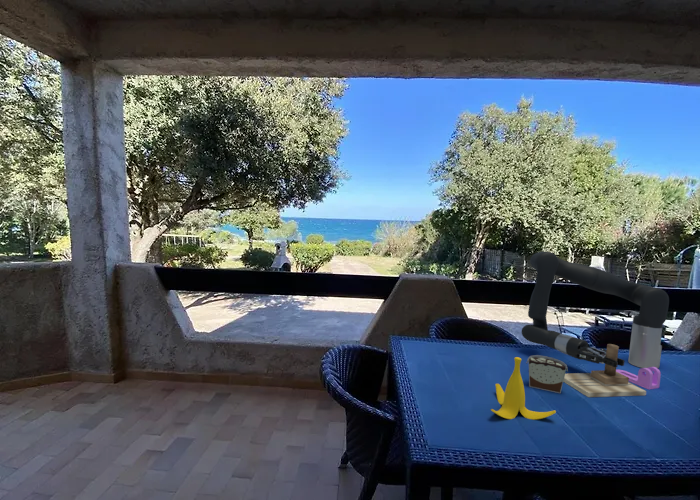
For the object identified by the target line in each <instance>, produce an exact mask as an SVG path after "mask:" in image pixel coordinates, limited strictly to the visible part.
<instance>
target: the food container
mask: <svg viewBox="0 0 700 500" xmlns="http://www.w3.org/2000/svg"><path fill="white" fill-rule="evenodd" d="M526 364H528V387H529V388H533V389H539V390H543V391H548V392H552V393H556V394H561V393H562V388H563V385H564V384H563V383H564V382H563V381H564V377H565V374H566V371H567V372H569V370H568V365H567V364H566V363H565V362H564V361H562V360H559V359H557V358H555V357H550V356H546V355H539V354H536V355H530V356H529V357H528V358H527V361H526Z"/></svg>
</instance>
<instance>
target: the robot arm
mask: <svg viewBox="0 0 700 500" xmlns="http://www.w3.org/2000/svg"><path fill="white" fill-rule="evenodd" d="M529 261H530V265H531V267H532V268H533V270H535V271H536V280H535V281H536V282H535V285H534V289H533V291H532V293H531V295H530V299H529V304H528V305H529V306H528V313H527V316H528V317H529V319H532V323H533V324H526V325H524V326H523V327H522V328H521V335H522V337H523V338H524V339H525V340H526V341H529V342H531V343H533V344H534V343H535V344H537V345H543V346H546V347H549V348H550V349H553V350H556V351H558V352H560V353H562V354H564V355H567V356H570V357H572V358H575V359H577V360H581V361H582V360H583V361H586V362H590V363H595V364H603V365H605V364H607V365H610V366H613V367H616V368H618V367H619V366H620V367H624V366H625V359H622V358H620V357H617V361H615V360H613V359H610V358H607V357H606V351H607V349H605V348H601V347H600V349H598V348H596V347H594V346H591V347H590V345H589V343H588V342H587V341H586V340H583V339H581V338H577V337H575V336H572V335H569V334H565V333H564V334H563V333H561V332H558V331H556V330H549V329H548V320H547V313H548V305H549V300H550V295H551V289H552V286H553V283H554V279H555V276H557V277H560V278H563V279H565V280H567V281H570V282H571V283H573V284H576V285H578V286H580V287H584V288H586V289H589V290H592V291H595V292H598V293H602V294H606V295H607V294H608V295H613V296H616V297H620V298H621V299H625V300H627V301H630V302H632V303H633V304H635V305H637V306H640V307H639V313H638V314H636V315H634V316H633V318H632V325H631V335H630V344H629V352H628V361H627V362H628V363H629V364H630V365H632V366H635V367H638V368H640V369H641V368H648V367H656V368H658V369H659V368H660V365H661V356H662V349H663V345H661V340H662V334H663V333H662V331H663V325H664V324H665V322H666V321H667V316H668V311H669V305H670V297H669V295H668V293H667V292H666V291H665V290H663V289H661V288H659V287H654V286H651V285H646V284H641V283H636V282H632V281H629V280H625V279H622V278H620V277H619V276H618V275H617V276H616V275H615V274H613V273H610V272H608V271H605V270H604V269H599V268H596V267H594V266H591V265H590V266H589V265H586V264H582V263H581V264H580V263H576V262H570V261H566V260H564V259H561V258H559V257H558V256H557V255H556V254H555V253H553V252H550V251H538V252H535V253H534V254H533V255H532V256H531V257H530V260H529Z"/></svg>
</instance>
